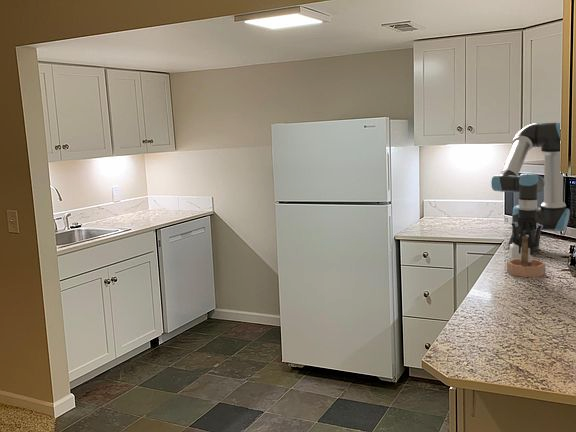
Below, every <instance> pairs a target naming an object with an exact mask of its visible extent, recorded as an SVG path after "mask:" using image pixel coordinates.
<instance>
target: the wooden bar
mask: <svg viewBox="0 0 576 432" xmlns="http://www.w3.org/2000/svg"><path fill="white" fill-rule="evenodd" d="M529 247H530V244H529V235H524V236H522V255H521V266H531V262H530V263H528V248H529Z"/></svg>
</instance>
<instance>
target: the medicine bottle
mask: <svg viewBox="0 0 576 432" xmlns="http://www.w3.org/2000/svg"><path fill="white" fill-rule="evenodd" d="M519 238H520V235H519ZM508 254H509V261H510V260H512V259H520V257H521V254H519V246H518V245H515V244H514V236H513V237H512V244H510V249H509V253H508Z"/></svg>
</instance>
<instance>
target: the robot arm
mask: <svg viewBox="0 0 576 432" xmlns="http://www.w3.org/2000/svg"><path fill="white" fill-rule="evenodd" d="M560 123H561V122H536V123H531V124H528V125H526V126H525V127H523V128H522V129H520V130H519V131H518V132H517V133H516V134H515V136H514V137H513V139H512V142H511V145H512V147H511V149H510V152H509V154H508V155H507V158H506V161H505V162H504V165H503V167H502V170H501V172H500V173H499V174H496V175H495V174H494V175H493V176H492V178H491V188H492V190H493V191H495V192H501V193H502V192H503V193H518V204H517V205H515V206H514V207H513V208H512V214H511V216H512V218H511V219H512V220H511V221H512V222H511V235H510V238H509V241H508V243H507V248H508V249H509V250H510V244H512V237H513V236H514V244H515V245H518V246H519V254H521V255H522V236H524V235H529V244H530V247H529V248H528V263H530V262H532V259H533V255H535V252H536V251H539V250H540V241H541V235H542V231H545V232H546V231H548V232H564V231H565V230H566V228H567V227H568V224H569V220H570V214H571V212H570V208H567V205H566V202H564V173H563V174H561V173H560ZM533 148H540V150H541V153H542V154H543V155H544V159H543V160H544V161H543V162H544V163H543V164H544V165H543V167H544V169H543V170H544V172H543V173H544V175H543V176H544V177H542V176H541V175H539V174H537V173H532V172H528V173H526V172H525V173H521V174H520V171H521V170H522V166H523V165H524V162H525V159H526V158H527V155H528V153H529V151H531V150H532V149H533ZM519 174H520V175H519ZM542 190H543V202H541V204H540V207H539V206H538V195H539V194H538V193H540V192H542ZM519 235H520V238H519ZM520 261H521V257H520Z"/></svg>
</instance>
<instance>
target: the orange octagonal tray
mask: <svg viewBox="0 0 576 432" xmlns="http://www.w3.org/2000/svg"><path fill="white" fill-rule="evenodd" d="M519 265H521V261H520V259H512V260H510V259H509V260H507V261H506V272H507V273H508V274H510V275H512V276H515V277H522V278H523V277H524V278H537V277H538V278H540V277H542V276H543V275H545V274H546V263H545V262H543V261H542V260H541V259H540V260H539V259H538V260H537V259H533V258H532V262H531V265H535V266H519Z"/></svg>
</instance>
